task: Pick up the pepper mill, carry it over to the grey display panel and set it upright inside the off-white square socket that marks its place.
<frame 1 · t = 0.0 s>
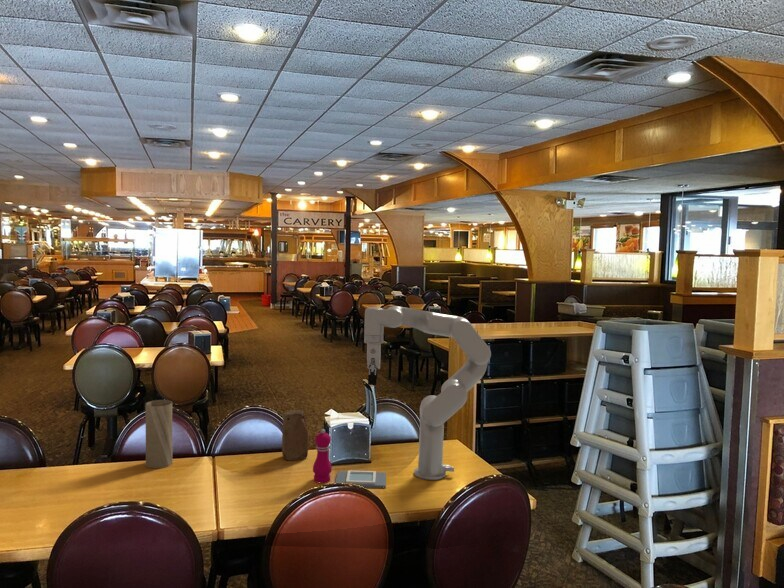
hand: (372, 381, 243), 37 cm above the table, tool pointing down, fingers open, 9 cm apart
grey display panel: (361, 480, 238), on the table
tube: (159, 464, 249), on the table
pepper mill: (322, 480, 237), on the table
block: (294, 458, 260), on the table
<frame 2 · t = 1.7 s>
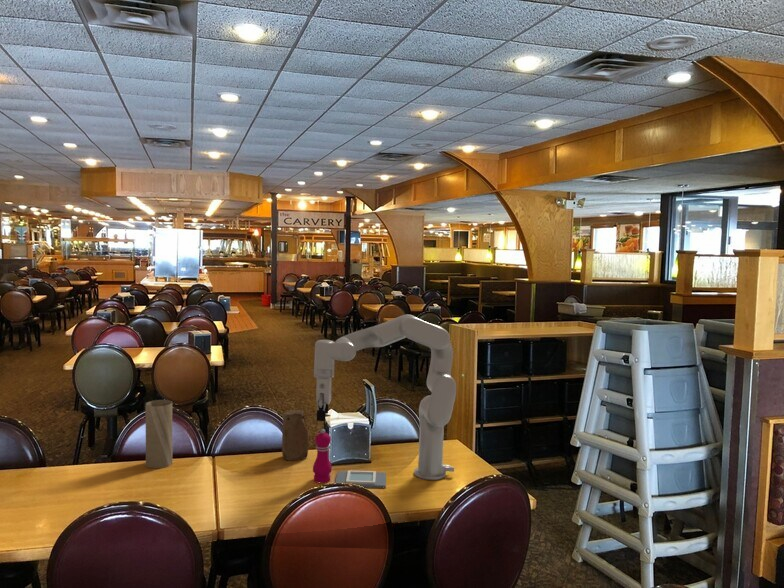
hand: (322, 417, 235), 25 cm above the table, tool pointing down, fingers open, 9 cm apart
nothing on the table moved.
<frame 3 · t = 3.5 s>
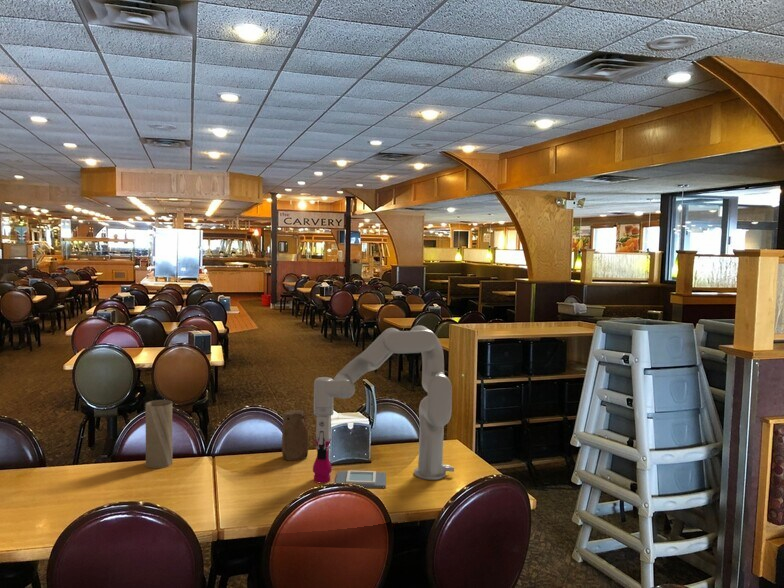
hand: (322, 456, 236), 9 cm above the table, tool pointing down, fingers closed on pepper mill, 5 cm apart
pepper mill: (322, 480, 237), on the table, touching gripper
everything else where it was.
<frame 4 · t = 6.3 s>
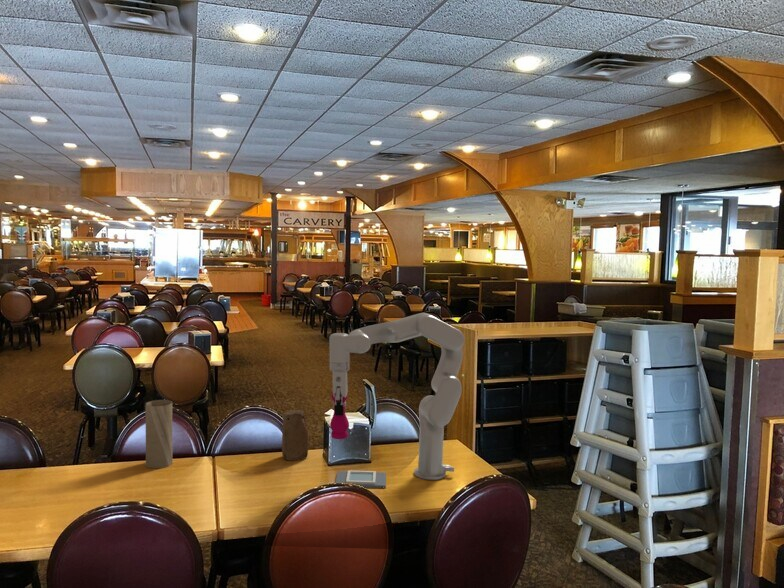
hand: (339, 412, 235), 27 cm above the table, tool pointing down, fingers closed on pepper mill, 5 cm apart
pepper mill: (339, 437, 236), point 17 cm above the table, touching gripper
everything else where it was.
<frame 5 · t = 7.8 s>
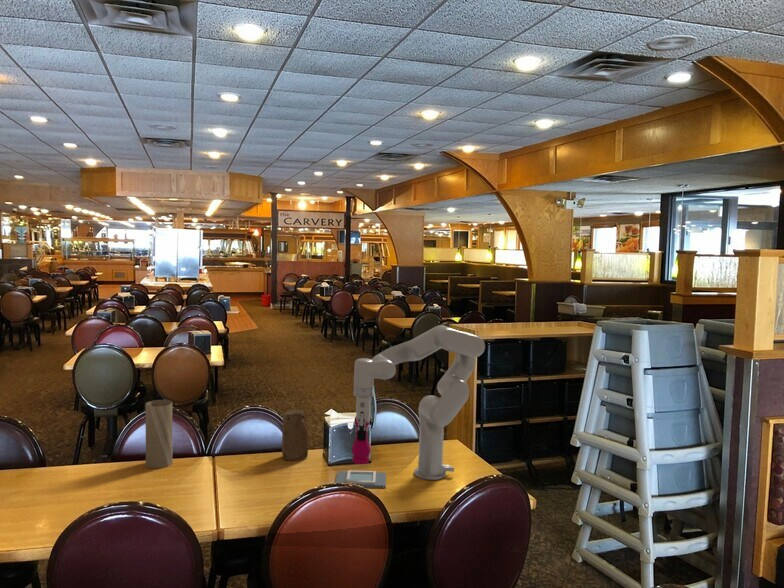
hand: (361, 437, 236), 17 cm above the table, tool pointing down, fingers closed on pepper mill, 5 cm apart
pepper mill: (360, 461, 237), point 7 cm above the table, touching gripper
everything else where it was.
when the fingers open (12 cm above the table, at t = 9.1 s): pepper mill drops 2 cm, resting on grey display panel.
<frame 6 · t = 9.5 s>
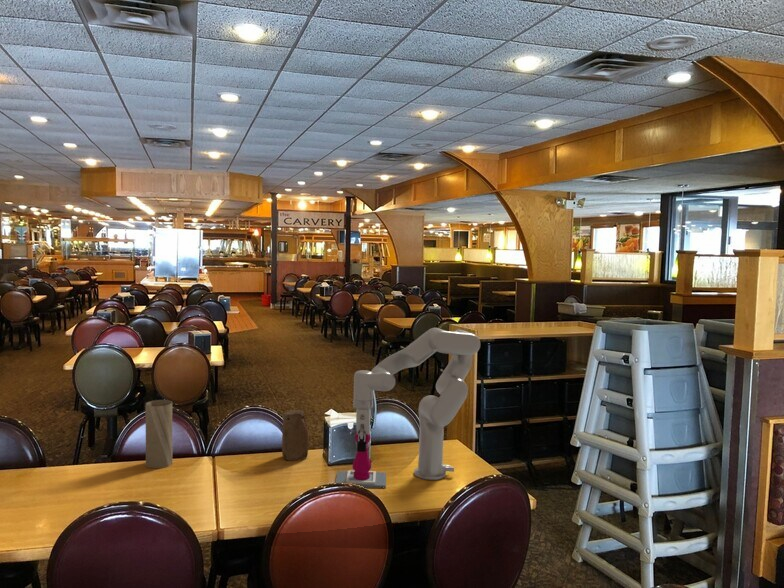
hand: (362, 447, 237), 13 cm above the table, tool pointing down, fingers open, 9 cm apart
pepper mill: (361, 477, 238), point 1 cm above the table, touching grey display panel
everything else where it was.
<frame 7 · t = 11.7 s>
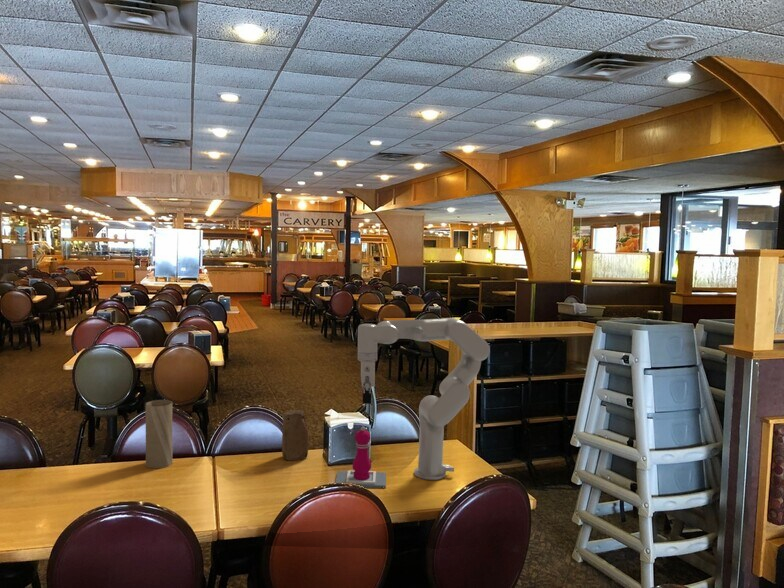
hand: (367, 400, 238), 31 cm above the table, tool pointing down, fingers open, 9 cm apart
nothing on the table moved.
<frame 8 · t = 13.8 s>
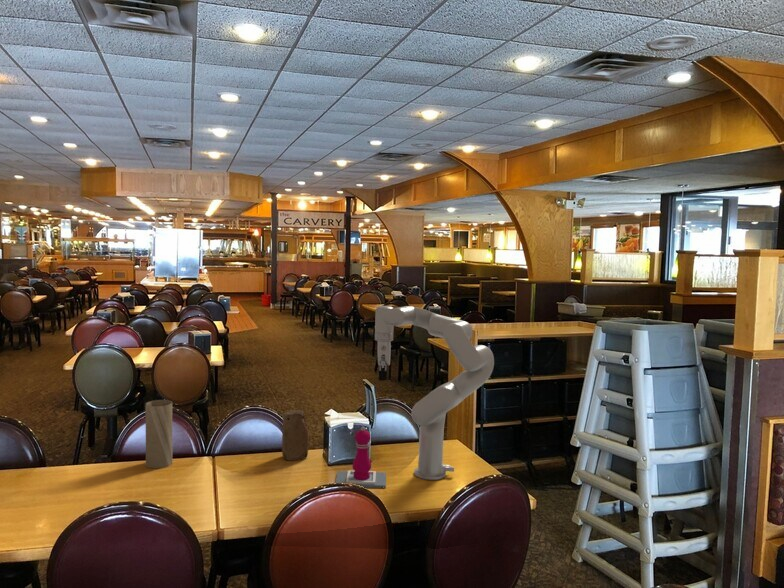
hand: (382, 377, 253), 36 cm above the table, tool pointing down, fingers open, 9 cm apart
nothing on the table moved.
at the end: pepper mill 0.8 cm off-centre on the grey display panel, point 0.9 cm above the grey display panel's base; pepper mill tilted 0°; the gripper is holding nothing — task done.
